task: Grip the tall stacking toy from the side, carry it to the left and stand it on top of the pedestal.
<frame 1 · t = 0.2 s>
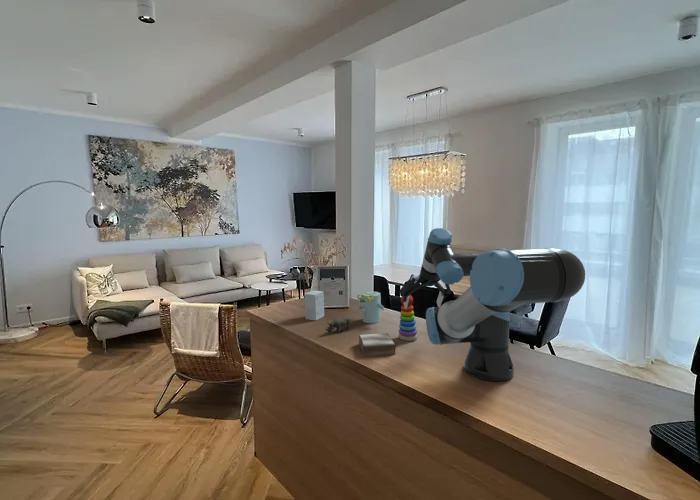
hand: (421, 305, 143), 15 cm above the table, tool tilted 35°, fingers open, 13 cm apart
stacking toy: (408, 338, 148), on the table
pedestal: (376, 348, 138), on the table
rhino figurine: (338, 332, 158), on the table
character sculpture: (369, 321, 172), on the table
small box: (315, 318, 179), on the table
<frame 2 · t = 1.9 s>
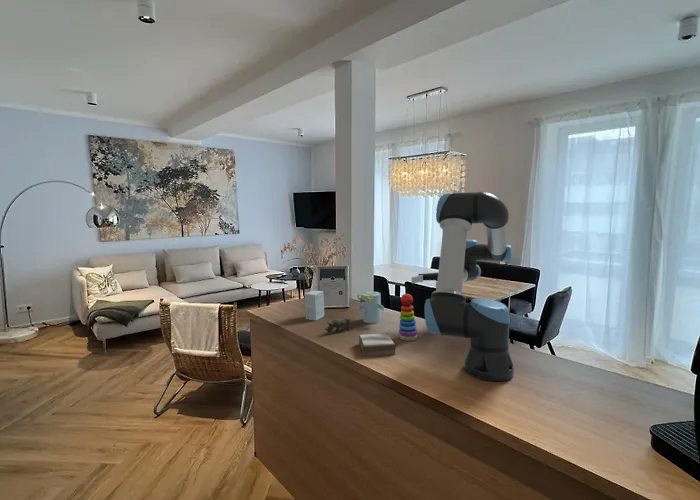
hand: (423, 282, 151), 22 cm above the table, tool horizontal, fingers open, 13 cm apart
nothing on the table moved.
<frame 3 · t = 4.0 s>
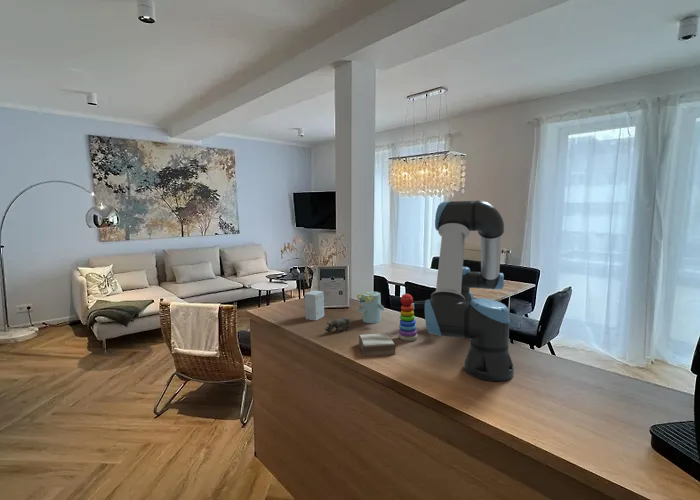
hand: (414, 312, 150), 10 cm above the table, tool horizontal, fingers open, 13 cm apart
nothing on the table moved.
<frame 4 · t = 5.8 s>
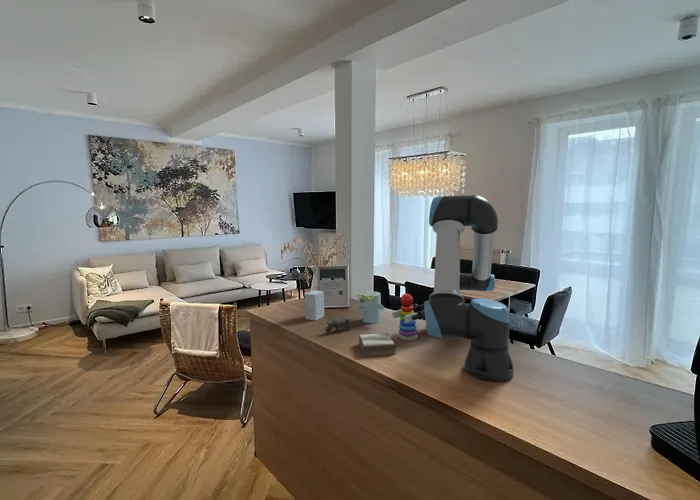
hand: (399, 317, 144), 10 cm above the table, tool horizontal, fingers open, 6 cm apart
stacking toy: (408, 338, 148), on the table, touching gripper
everything else where it was.
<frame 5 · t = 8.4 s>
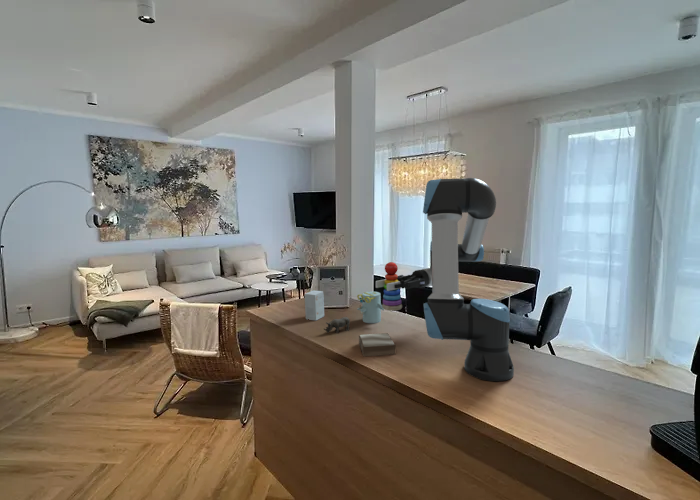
hand: (381, 285, 139), 24 cm above the table, tool horizontal, fingers closed on stacking toy, 6 cm apart
stacking toy: (392, 308, 143), point 14 cm above the table, touching gripper
everything else where it was.
when the fingers open (15 cm above the table, at t = 10.9 s): stacking toy drops 1 cm, resting on pedestal.
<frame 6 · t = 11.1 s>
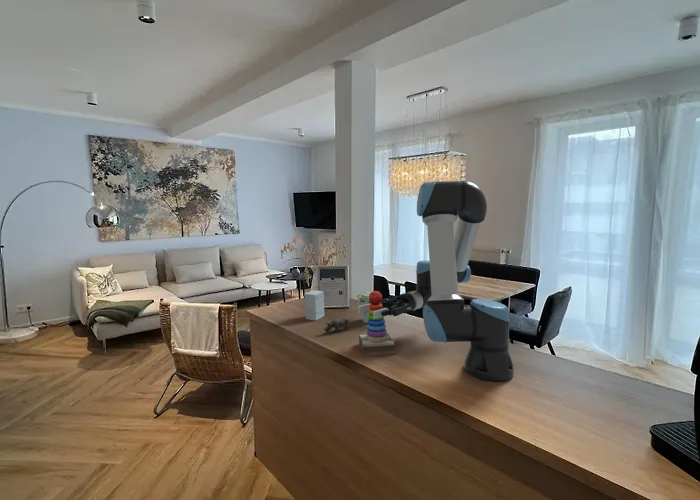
hand: (366, 312, 133), 15 cm above the table, tool horizontal, fingers open, 8 cm apart
stacking toy: (376, 339, 137), point 4 cm above the table, touching pedestal
everything else where it was.
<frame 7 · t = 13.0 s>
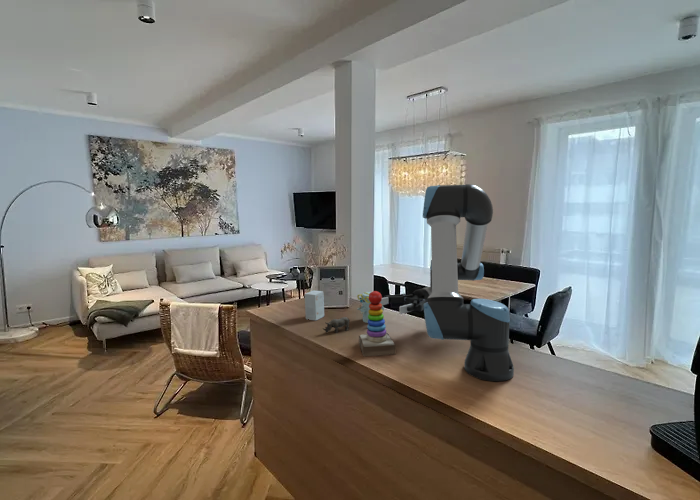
hand: (387, 306, 140), 16 cm above the table, tool horizontal, fingers open, 13 cm apart
nothing on the table moved.
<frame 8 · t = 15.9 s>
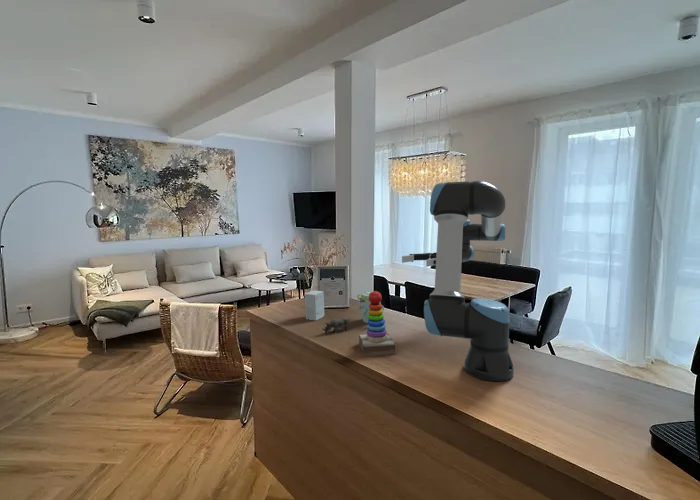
hand: (414, 261, 146), 32 cm above the table, tool horizontal, fingers open, 13 cm apart
at the end: stacking toy inside the target area on the pedestal (0.2 cm from its centre), point 3.8 cm above the pedestal's base; stacking toy tilted 0°; the gripper is holding nothing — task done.
